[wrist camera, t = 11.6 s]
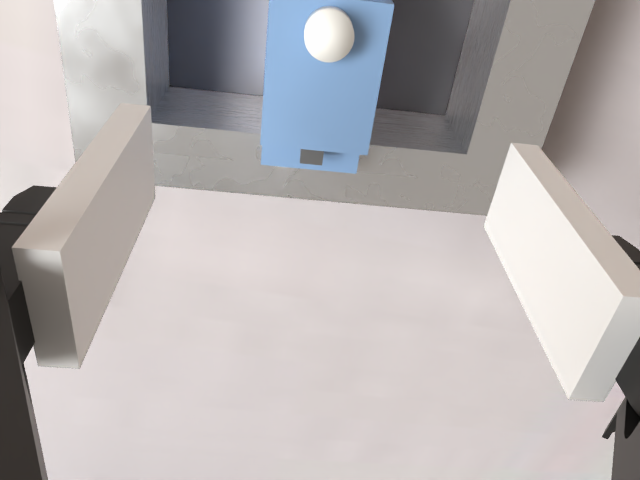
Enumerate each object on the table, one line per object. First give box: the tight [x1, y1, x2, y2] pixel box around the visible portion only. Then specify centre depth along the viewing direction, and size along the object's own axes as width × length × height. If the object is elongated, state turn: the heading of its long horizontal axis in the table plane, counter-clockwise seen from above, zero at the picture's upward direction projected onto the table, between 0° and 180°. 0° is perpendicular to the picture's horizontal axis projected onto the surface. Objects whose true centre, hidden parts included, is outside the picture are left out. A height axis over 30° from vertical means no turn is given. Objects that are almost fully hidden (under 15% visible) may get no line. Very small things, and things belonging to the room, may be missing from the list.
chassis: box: [54, 0, 595, 216], centre depth 27 cm, size 14×22×5 cm, turn 83°
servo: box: [260, 0, 394, 174], centre depth 25 cm, size 10×4×9 cm, turn 173°
